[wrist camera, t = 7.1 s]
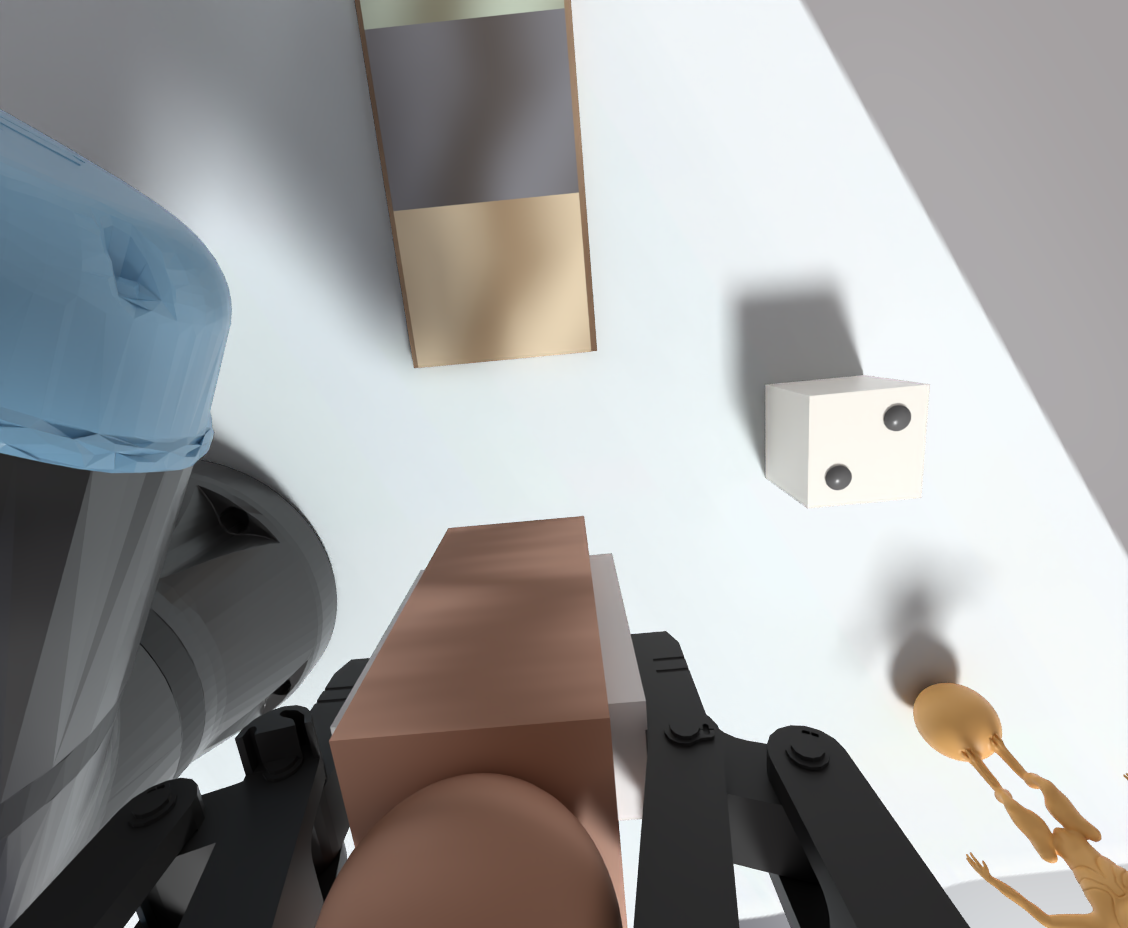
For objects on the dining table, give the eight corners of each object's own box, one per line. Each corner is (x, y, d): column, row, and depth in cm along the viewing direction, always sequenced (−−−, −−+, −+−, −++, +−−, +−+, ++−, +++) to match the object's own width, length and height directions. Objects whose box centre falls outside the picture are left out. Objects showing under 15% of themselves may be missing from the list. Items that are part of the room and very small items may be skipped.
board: (418, 366, 26) (412, 368, 25) (334, -157, 21) (322, -183, 20) (595, 350, 26) (597, 351, 25) (555, -182, 21) (555, -210, 20)
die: (764, 477, 28) (808, 509, 23) (764, 384, 27) (810, 396, 22) (858, 469, 28) (922, 498, 23) (863, 374, 27) (931, 384, 22)
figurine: (981, 636, 30) (1242, 827, 19) (1023, 708, 32) (1294, 929, 20) (854, 709, 31) (1025, 930, 20) (900, 775, 33) (1086, 1020, 21)
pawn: (467, 647, 18) (265, 1339, 6) (448, 528, 17) (147, 1065, 5) (594, 636, 18) (670, 1311, 6) (584, 515, 17) (648, 1027, 4)
